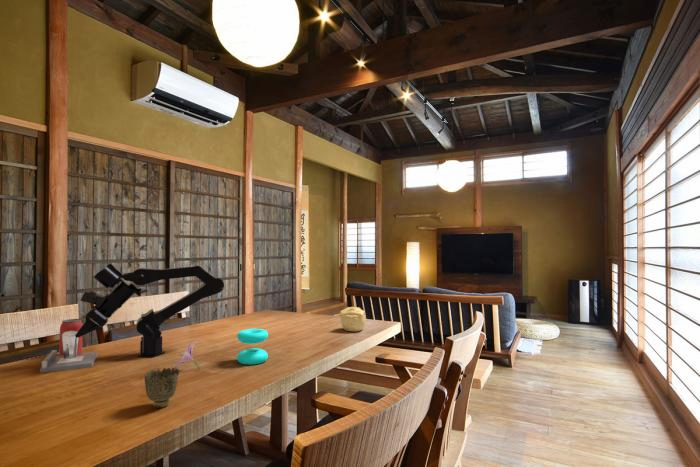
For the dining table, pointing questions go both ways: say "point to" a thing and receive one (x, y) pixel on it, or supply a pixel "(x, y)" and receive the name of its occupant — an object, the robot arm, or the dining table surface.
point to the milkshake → (70, 345)
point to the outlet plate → (67, 362)
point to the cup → (161, 386)
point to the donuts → (252, 354)
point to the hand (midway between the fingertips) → (78, 333)
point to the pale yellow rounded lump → (353, 319)
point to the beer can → (70, 326)
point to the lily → (187, 355)
